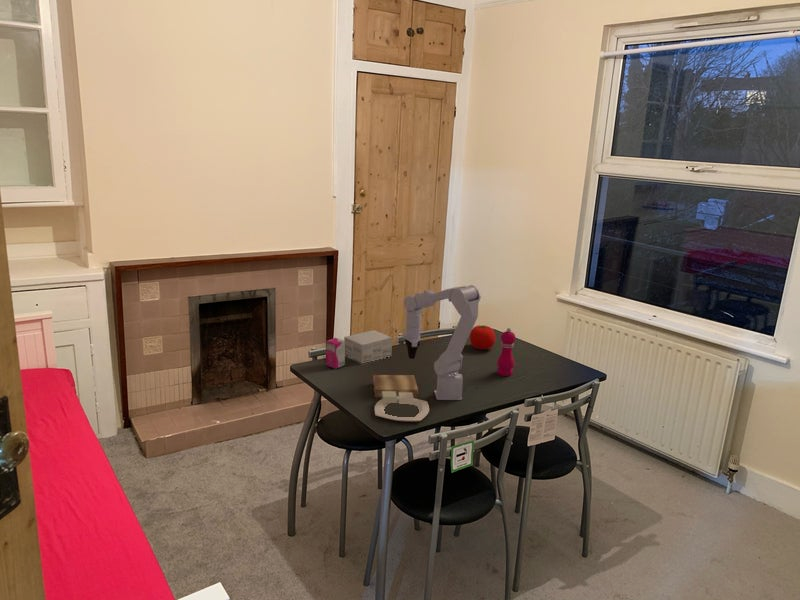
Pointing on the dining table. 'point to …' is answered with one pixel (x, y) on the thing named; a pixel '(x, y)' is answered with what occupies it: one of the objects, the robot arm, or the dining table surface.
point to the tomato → (482, 337)
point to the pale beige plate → (422, 413)
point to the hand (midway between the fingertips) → (411, 358)
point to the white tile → (406, 398)
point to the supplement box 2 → (368, 346)
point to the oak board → (395, 384)
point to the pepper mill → (506, 354)
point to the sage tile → (389, 397)
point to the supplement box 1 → (335, 353)
